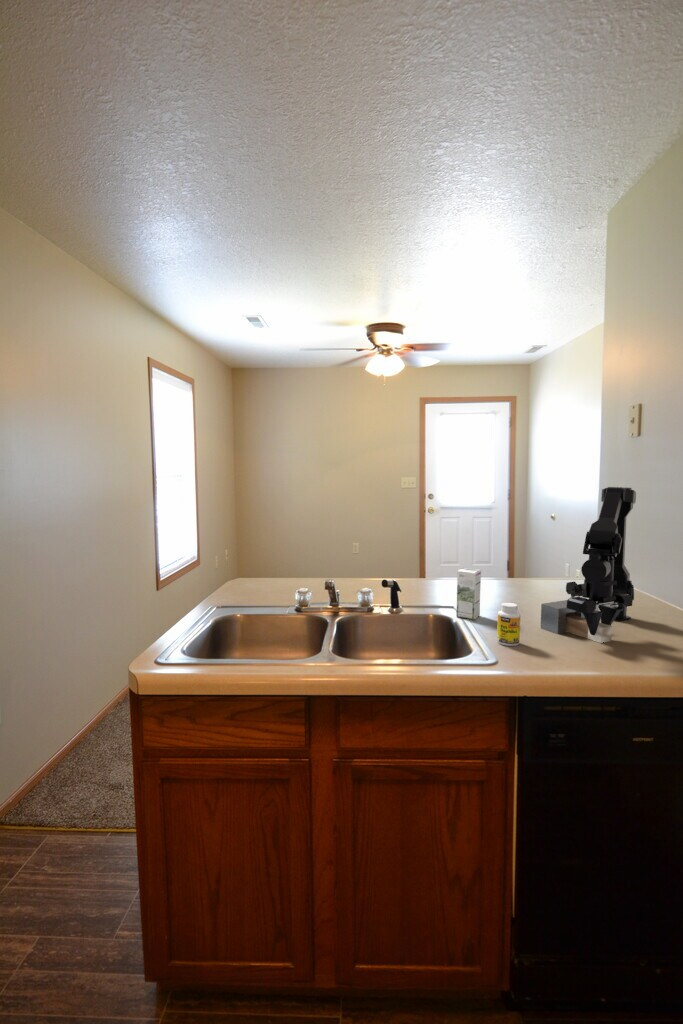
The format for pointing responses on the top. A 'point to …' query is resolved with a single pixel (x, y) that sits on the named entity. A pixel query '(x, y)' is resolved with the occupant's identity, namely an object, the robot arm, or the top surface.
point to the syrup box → (468, 593)
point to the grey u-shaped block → (556, 616)
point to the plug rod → (587, 629)
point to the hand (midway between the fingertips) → (598, 633)
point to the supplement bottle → (508, 625)
